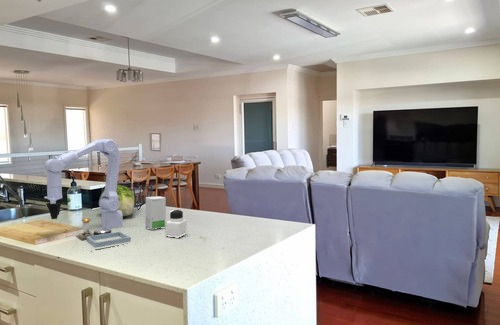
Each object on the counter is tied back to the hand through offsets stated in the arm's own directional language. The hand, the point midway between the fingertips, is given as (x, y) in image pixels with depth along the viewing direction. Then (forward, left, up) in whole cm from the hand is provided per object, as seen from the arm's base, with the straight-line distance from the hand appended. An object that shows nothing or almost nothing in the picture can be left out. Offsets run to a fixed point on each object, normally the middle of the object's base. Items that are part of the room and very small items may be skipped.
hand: (55, 217), depth 171 cm
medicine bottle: (-45, +27, -10) cm, 53 cm away
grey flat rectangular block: (-14, +9, -10) cm, 19 cm away
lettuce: (-40, -29, -10) cm, 50 cm away
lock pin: (-10, +9, -9) cm, 16 cm away
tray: (-16, +21, -10) cm, 28 cm away
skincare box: (-44, +8, -10) cm, 46 cm away
